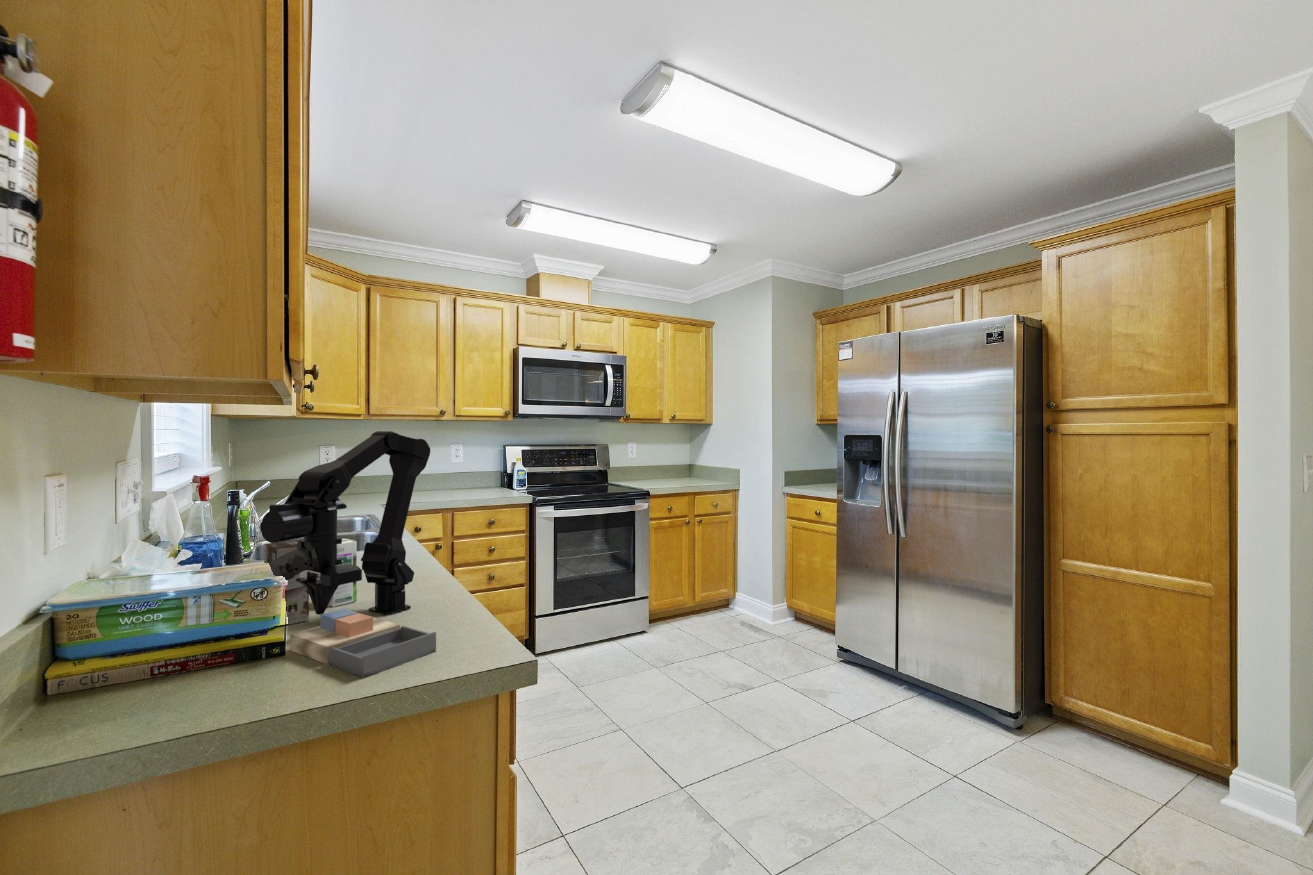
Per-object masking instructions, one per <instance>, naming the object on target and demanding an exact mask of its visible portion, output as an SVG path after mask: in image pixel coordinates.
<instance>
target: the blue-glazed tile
mask: <svg viewBox="0 0 1313 875" xmlns="http://www.w3.org/2000/svg"><path fill="white" fill-rule="evenodd" d="M357 613H358V612H356V611H352V610H349V609H347V608H341V609H338V610H333V611H330V612H326V613H325V612H324V613H323V614H320V616H319V617H320V620H319V626H320V628H322V629H325V630H328V631H331V632H335V631H336V619H339V618H342V617H346V616H350V615H354V614H357Z"/></svg>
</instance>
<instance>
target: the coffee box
mask: <svg viewBox="0 0 1313 875" xmlns="http://www.w3.org/2000/svg"><path fill="white" fill-rule="evenodd" d="M298 542H299V540H297V539H292V540H287V541H281V542H276V543H270V542H268V543H264V544H263V556H264V557H263V561H264V562H263V564H264V563H270V562H271V561H273V560H275V559H277V558H278V557H280V556H282V555H284V554H286V553H289V552H291V551H294V550H296V549H297V543H298ZM297 578H300V573H299V574H297V575H295V576H294V578H292V579H290V580H288V585H287V586H286V589H285V601H286V611H287V617H288V624H289V625H293V624H299V623H298V622H300V623H304V622H303V621H306V622H308V621H309V619H310V615H309V614H310V595H309V592H308V590H307V588H306V587H305V586H304V585H303V584H301V583H300V582H297V581H296V579H297ZM307 620H308V621H307Z"/></svg>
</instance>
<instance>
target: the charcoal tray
mask: <svg viewBox="0 0 1313 875" xmlns="http://www.w3.org/2000/svg"><path fill="white" fill-rule="evenodd" d="M435 652H437V632H436V631H432V632H426V631H423V630H420V629H416V628H413V627H409V626H405V625H400V629H396V630H393V631H390V632H387V633H383V634H380V635H377V636H374V637H371V638H367V639H364V640H361V641H358V642H354V643H351V644H348V645H345V646H342V647H338V648H335V647H333V648H331V650H329V664H328V665H329V666H331V667H333V668H336V669H339V670H343V671H345V672H347V673H350V674H353V675H356V676H358V677H360V678H368V677H371V676H373V675H376V674H379V673H381V672H384V671H387V670H390V669H392V668H394V667H397V666H399V665H404V664H405V663H408V662H411V661H414V660H417V659H418V658H422V657H424V656H427V655H430V654H433V653H435Z"/></svg>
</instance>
